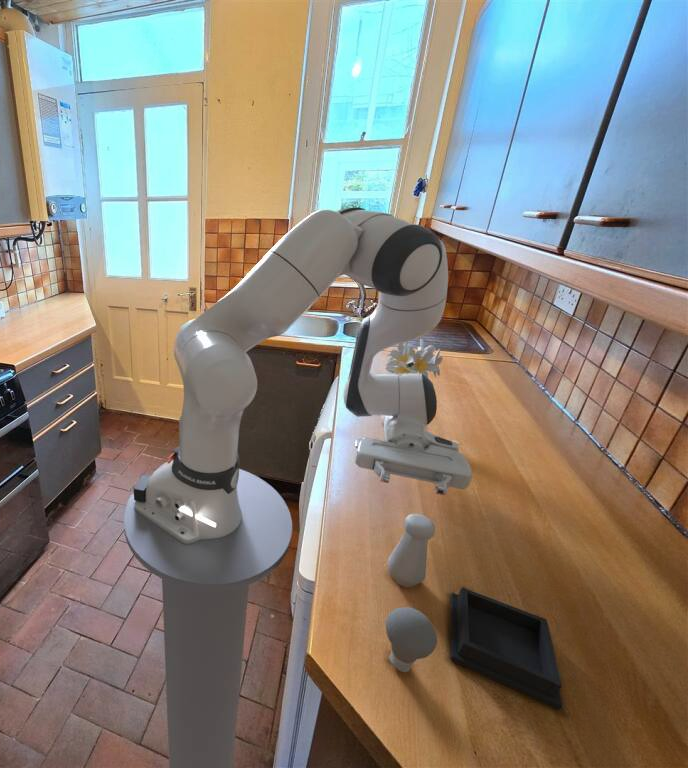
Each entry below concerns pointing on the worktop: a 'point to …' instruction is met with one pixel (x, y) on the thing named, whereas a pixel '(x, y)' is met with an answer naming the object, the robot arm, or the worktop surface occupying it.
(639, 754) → the worktop surface
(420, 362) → the flower vase
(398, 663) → the light bulb
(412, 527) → the salt shaker
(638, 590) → the worktop surface
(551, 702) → the pad
